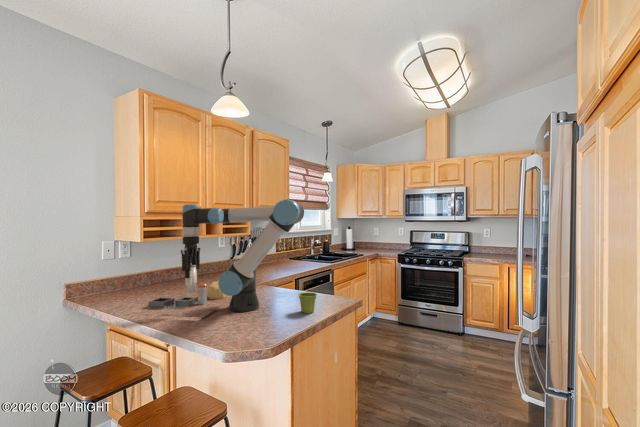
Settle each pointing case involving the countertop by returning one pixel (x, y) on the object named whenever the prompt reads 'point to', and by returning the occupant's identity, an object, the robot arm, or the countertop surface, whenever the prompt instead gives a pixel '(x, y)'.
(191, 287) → the cream round peg
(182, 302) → the dock
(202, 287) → the pin
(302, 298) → the plant pot
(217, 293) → the sculpture
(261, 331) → the countertop surface
